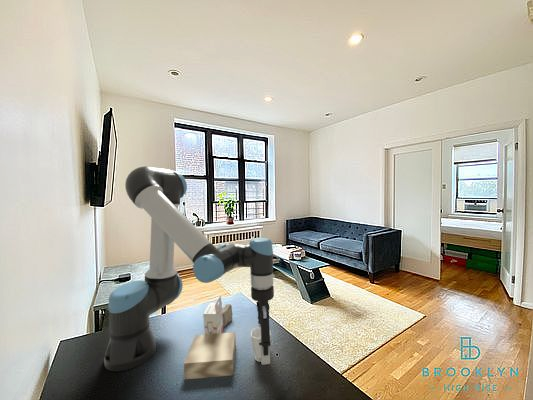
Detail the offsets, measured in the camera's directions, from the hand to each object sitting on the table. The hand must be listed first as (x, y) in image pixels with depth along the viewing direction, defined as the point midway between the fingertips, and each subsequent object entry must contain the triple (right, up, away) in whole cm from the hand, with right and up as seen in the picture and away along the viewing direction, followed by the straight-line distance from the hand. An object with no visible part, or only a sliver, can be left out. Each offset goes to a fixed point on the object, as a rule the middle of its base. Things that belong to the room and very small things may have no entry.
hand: (264, 352), depth 77 cm
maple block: (-17, -2, -2) cm, 17 cm away
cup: (0, -1, 0) cm, 1 cm away
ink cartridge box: (-19, -1, +10) cm, 21 cm away
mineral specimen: (-18, -1, +19) cm, 27 cm away
